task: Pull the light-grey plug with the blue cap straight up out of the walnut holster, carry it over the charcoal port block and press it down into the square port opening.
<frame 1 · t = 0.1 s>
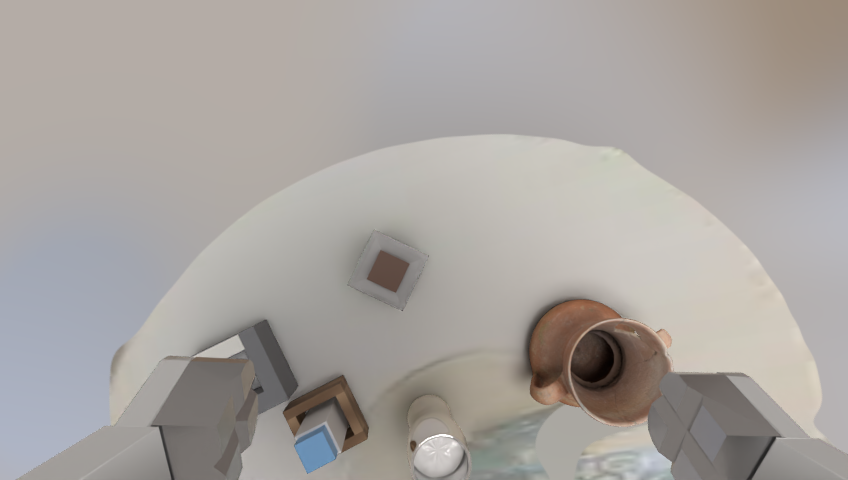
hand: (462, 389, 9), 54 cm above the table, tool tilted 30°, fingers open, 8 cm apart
ceramic jug: (568, 349, 65), on the table
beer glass: (428, 415, 63), on the table
plug: (322, 431, 55), in the holster
port: (248, 369, 61), on the table
perfume bottle: (388, 267, 63), on the table
holster: (329, 415, 61), on the table
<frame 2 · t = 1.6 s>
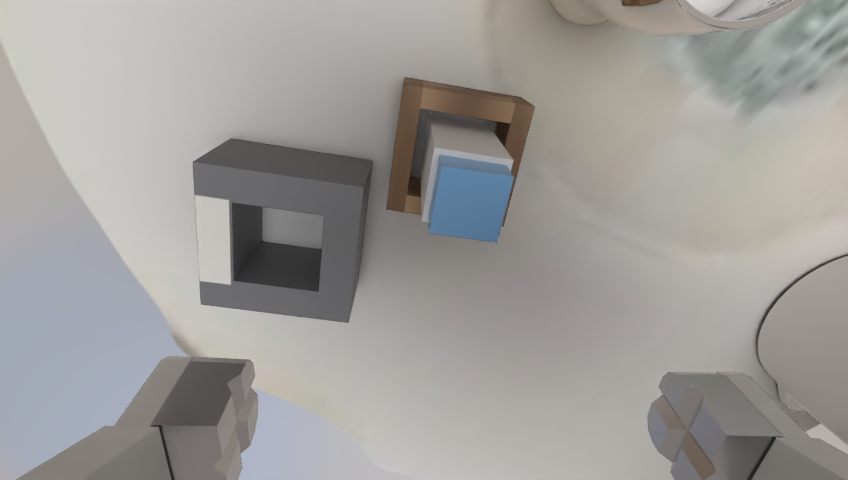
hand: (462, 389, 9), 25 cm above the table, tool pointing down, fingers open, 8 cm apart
plug: (459, 169, 27), in the holster
port: (299, 214, 34), on the table
holster: (452, 145, 32), on the table
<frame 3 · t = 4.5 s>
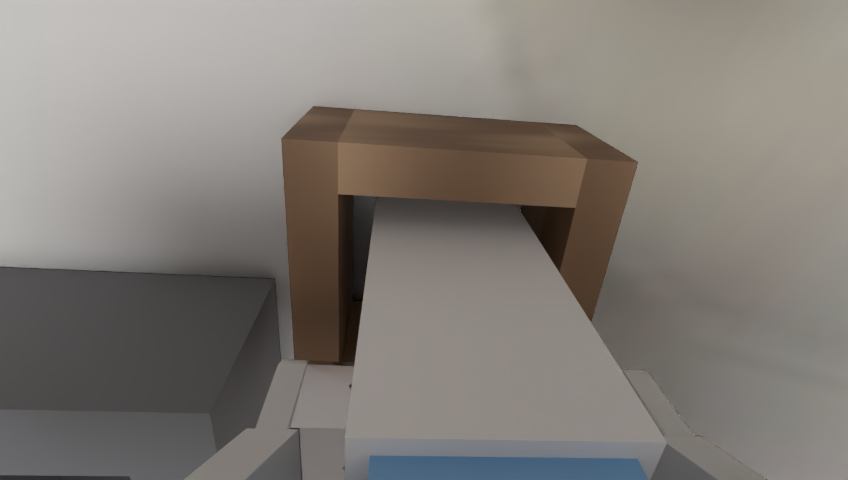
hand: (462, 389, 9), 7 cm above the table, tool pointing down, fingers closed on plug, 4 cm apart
plug: (455, 352, 10), in the holster, touching gripper
port: (152, 383, 18), on the table
holster: (436, 235, 15), on the table
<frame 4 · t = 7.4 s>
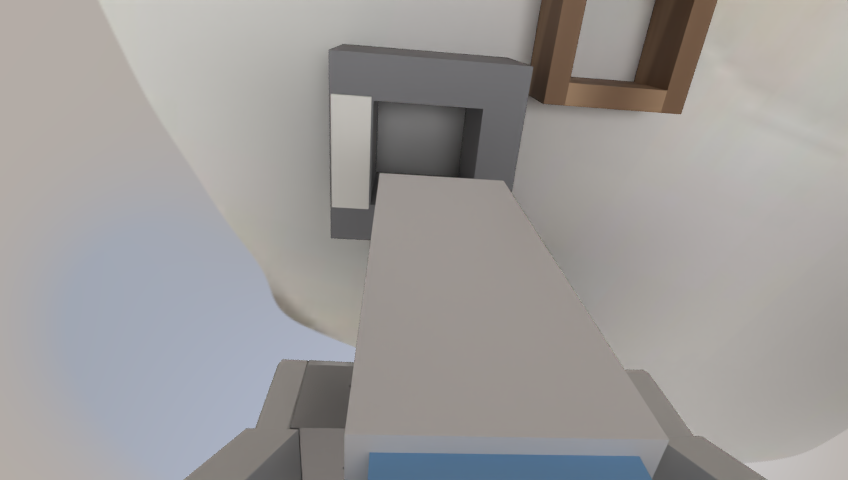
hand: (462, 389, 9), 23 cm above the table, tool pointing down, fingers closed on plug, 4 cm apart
plug: (456, 349, 10), point 22 cm above the table, touching gripper
port: (420, 133, 29), on the table
holster: (602, 29, 27), on the table
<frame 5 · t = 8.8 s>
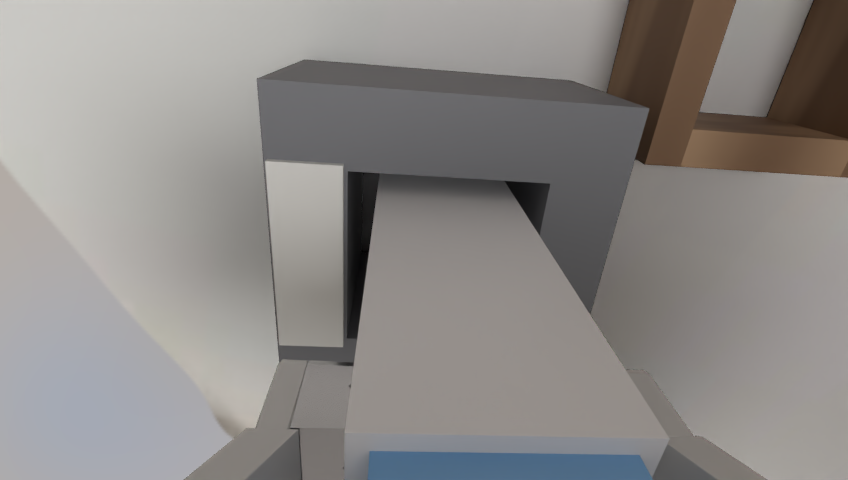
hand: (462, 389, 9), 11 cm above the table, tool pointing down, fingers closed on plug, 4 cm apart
plug: (456, 348, 10), point 10 cm above the table, touching gripper
port: (429, 196, 19), on the table
holster: (727, 35, 17), on the table
when the fingers open (8 cm above the table, at t = 10.1 s): plug stays where it is, resting in port.
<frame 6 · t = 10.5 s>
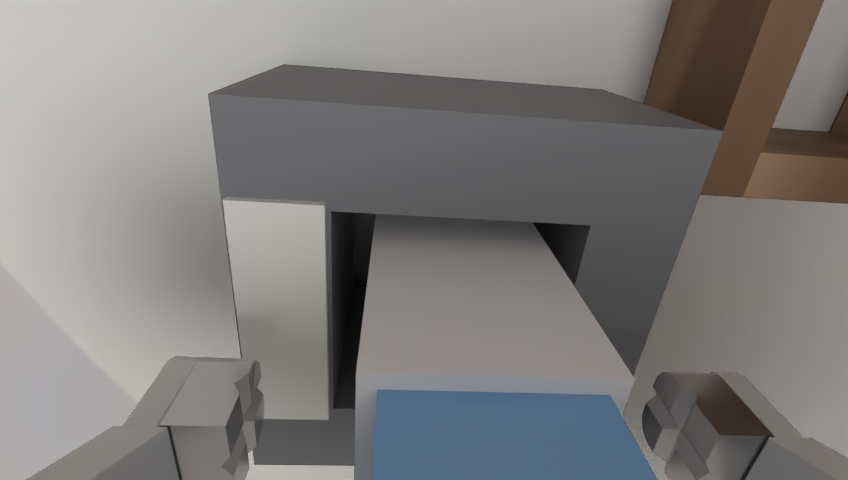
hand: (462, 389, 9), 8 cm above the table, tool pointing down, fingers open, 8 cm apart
plug: (453, 321, 11), in the port
port: (433, 223, 16), on the table
holster: (789, 35, 14), on the table
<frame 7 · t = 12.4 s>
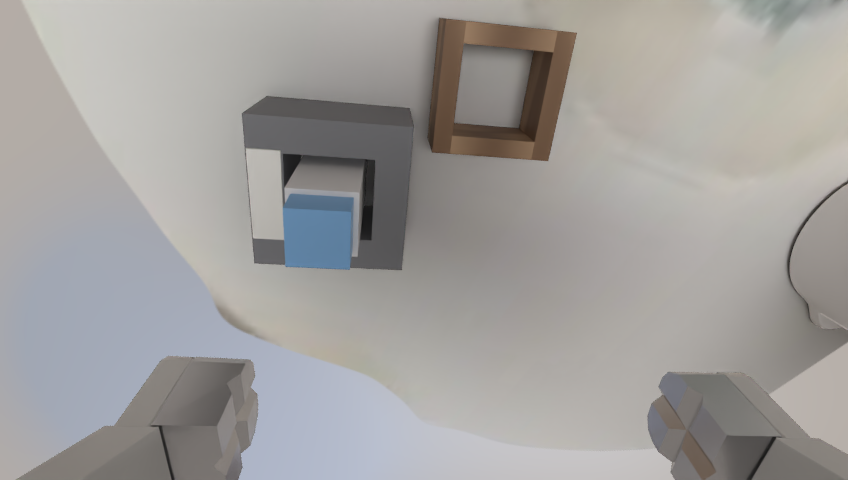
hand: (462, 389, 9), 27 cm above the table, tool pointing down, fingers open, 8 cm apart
plug: (330, 197, 29), in the port
port: (338, 169, 34), on the table
holster: (488, 86, 32), on the table
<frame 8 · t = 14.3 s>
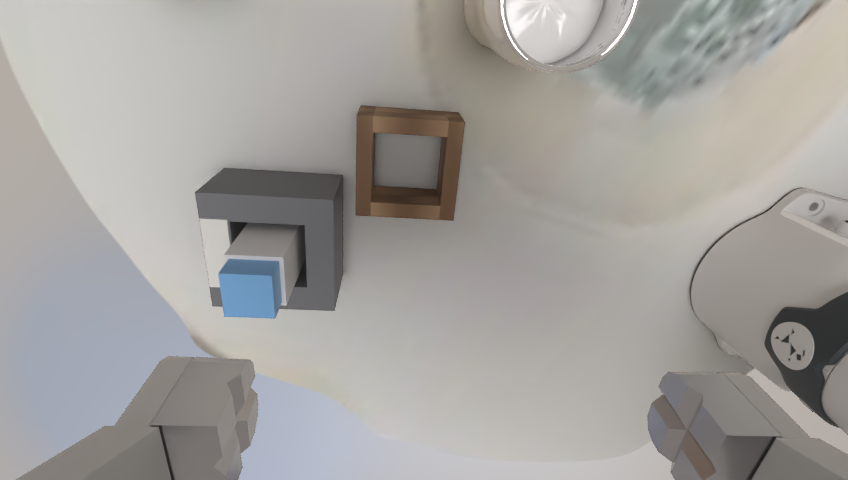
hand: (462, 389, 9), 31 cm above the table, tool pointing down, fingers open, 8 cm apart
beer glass: (502, 6, 34), on the table
plug: (270, 254, 35), in the port
port: (287, 224, 41), on the table
holster: (407, 156, 39), on the table
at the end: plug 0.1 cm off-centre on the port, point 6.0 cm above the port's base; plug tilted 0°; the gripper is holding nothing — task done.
